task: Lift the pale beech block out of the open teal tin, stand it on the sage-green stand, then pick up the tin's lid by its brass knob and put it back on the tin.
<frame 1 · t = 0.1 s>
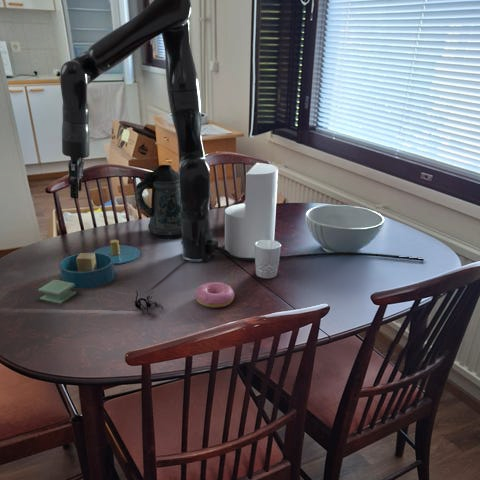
hand: (76, 194, 145), 22 cm above the table, tool pointing down, fingers open, 8 cm apart
creature: (149, 311, 128), on the table
tin: (89, 278, 145), on the table
decorative bowl: (340, 249, 171), on the table
tin lid: (116, 255, 160), point 1 cm above the table
beer stein: (168, 235, 180), on the table
block: (88, 277, 145), resting on tin
stand: (58, 297, 134), on the table
kitchen timer: (253, 225, 192), on the table
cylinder: (249, 249, 169), on the table
doughnut: (214, 301, 134), on the table
white cup: (266, 274, 151), on the table
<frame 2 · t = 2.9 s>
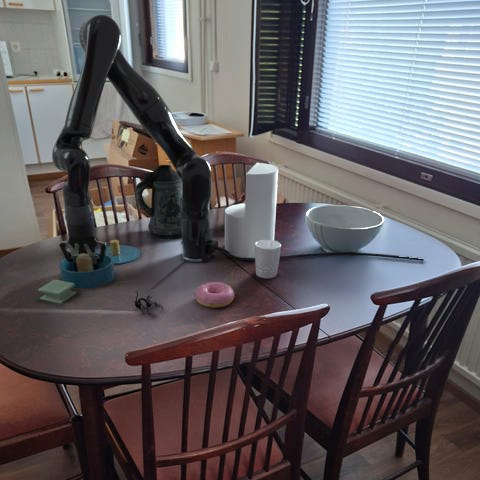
hand: (88, 273, 144), 2 cm above the table, tool pointing down, fingers closed on block, 4 cm apart
block: (88, 277, 145), point 1 cm above the table, touching gripper, tin
everything else where it was.
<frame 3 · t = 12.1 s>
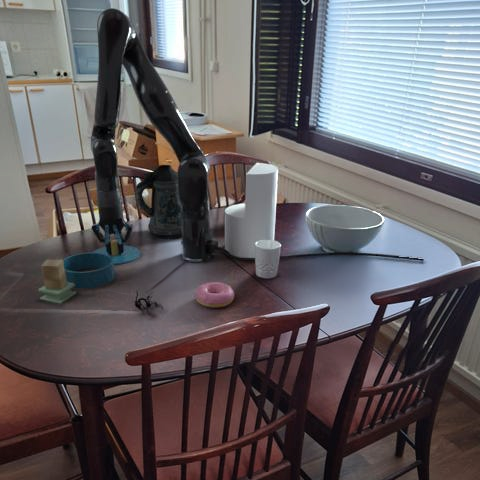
hand: (115, 253, 160), 1 cm above the table, tool pointing down, fingers closed on tin lid, 3 cm apart
tin lid: (116, 255, 160), point 1 cm above the table, touching gripper
block: (56, 286, 132), point 3 cm above the table, touching stand
everything else where it was.
when the fingers open (6 cm above the table, at t = 16.4 s): tin lid stays where it is, resting on tin.
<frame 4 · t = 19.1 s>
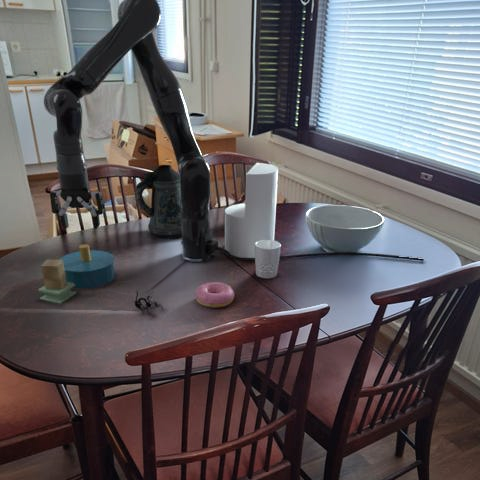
hand: (81, 227, 137), 16 cm above the table, tool pointing down, fingers open, 8 cm apart
tin lid: (86, 261, 142), point 5 cm above the table, touching tin
everything else where it was.
at the end: block 0.0 cm off-centre on the stand, point 3.5 cm above the stand's base; tin lid 0.1 cm off-centre on the tin, point 5.5 cm above the tin's base; tin lid tilted 0° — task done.
